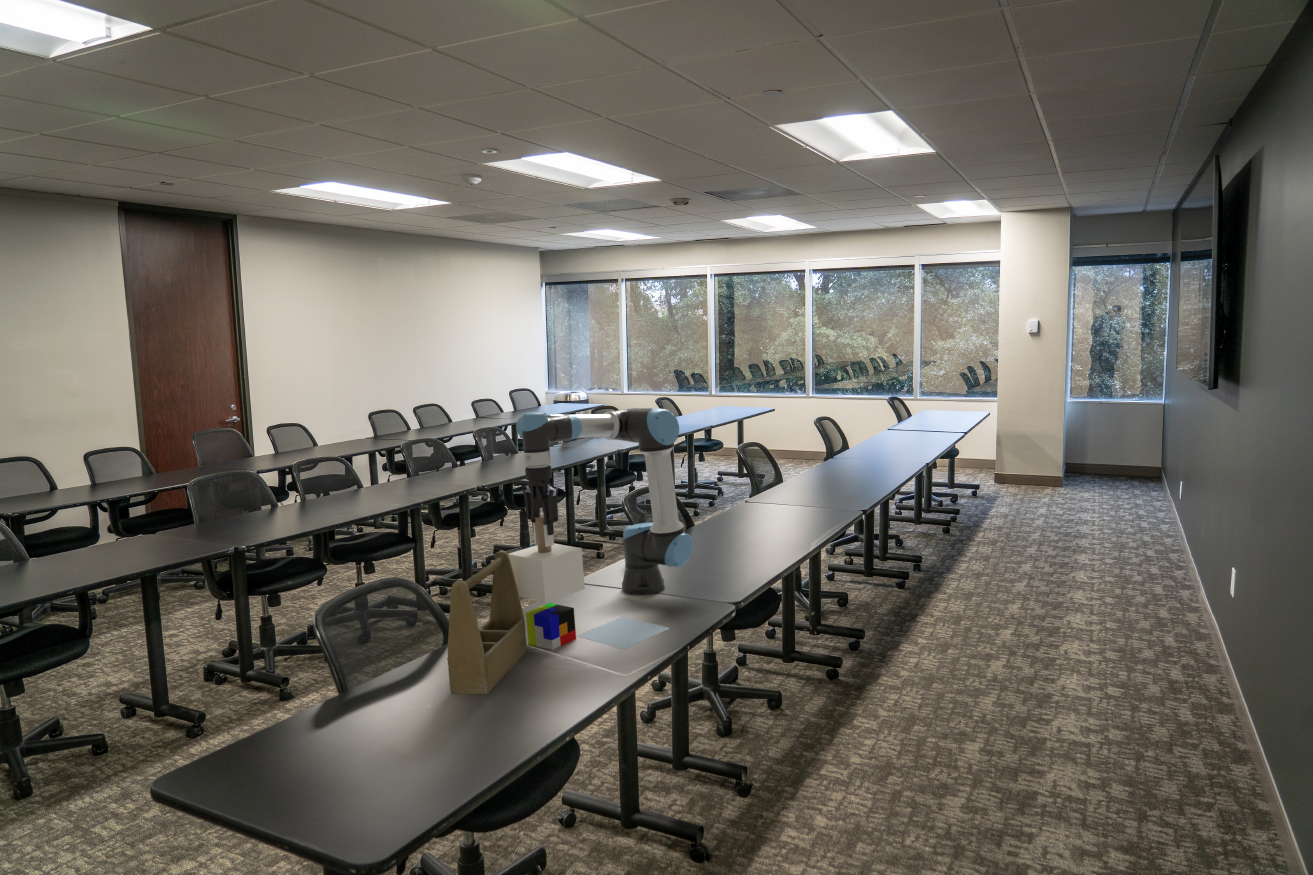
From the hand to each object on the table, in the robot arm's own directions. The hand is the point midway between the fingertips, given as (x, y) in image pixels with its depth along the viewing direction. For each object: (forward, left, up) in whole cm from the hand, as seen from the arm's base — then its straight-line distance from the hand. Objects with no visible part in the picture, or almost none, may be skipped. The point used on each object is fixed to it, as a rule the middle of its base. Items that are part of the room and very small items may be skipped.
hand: (544, 544), depth 243 cm
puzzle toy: (0, 0, -30) cm, 30 cm away
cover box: (0, 0, -14) cm, 14 cm away
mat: (-17, +13, -30) cm, 37 cm away
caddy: (+24, +2, -30) cm, 39 cm away
